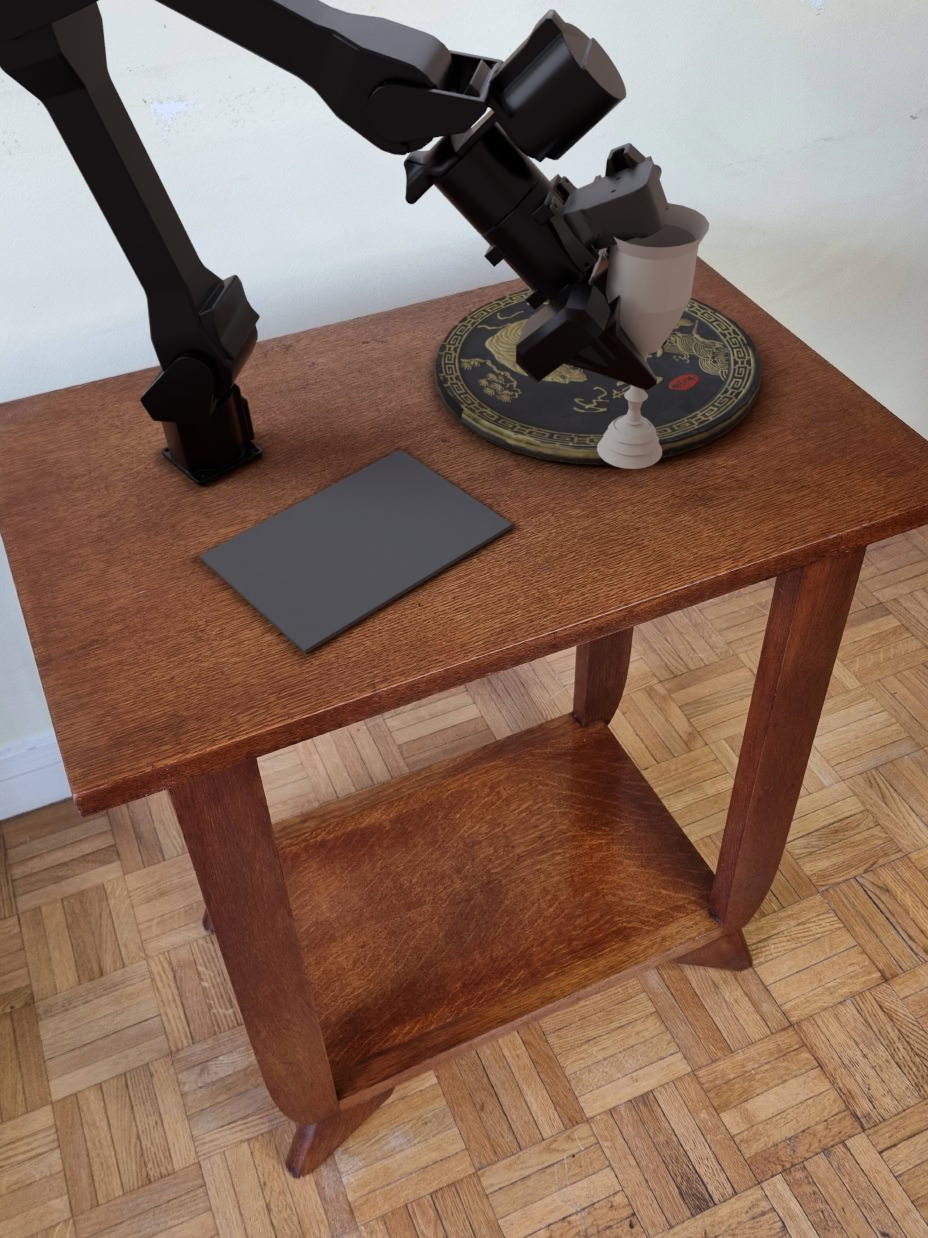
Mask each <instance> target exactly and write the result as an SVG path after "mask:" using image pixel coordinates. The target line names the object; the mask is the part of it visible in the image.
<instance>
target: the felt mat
mask: <svg viewBox="0 0 928 1238" xmlns="http://www.w3.org/2000/svg"><path fill="white" fill-rule="evenodd" d="M511 529H513V523H511V522H510V521H508V520H507V519H505V518H504V517H502V515H500V514H498V513H496V511H494V510H492V509H491V508H489V507H488V506H486V505H484V504H483V503H482V502H480V501H479V500H477V499H476V498H474V497H473V496H471V495H470V494H469V493H466V492H465V491H464V490H462V489H461V488H459V487H458V486H456V484H453V483H452V482H451V481H449V480H448V479H446V478H444V477H443V476H441V475H440V474H438V473H437V472H435V471H434V470H432V469H431V468H430V467H428V466H426V465H425V464H424V463H422V462H420V461H419V460H417V459H416V458H415V457H413V456H412V455H410V454H408V453H407V452H405V451H404V450H402V449H401V448H399V449H397V450H395V451H394V452H392V453H390V454H387V455H386V456H384V457H382V458H380V459H378V460H377V461H375V462H373V463H371V464H370V465H368V466H366V467H364V468H362V469H360V470H358V471H356V472H354V473H352V474H351V475H348V476H347V477H345V478H343V479H341V480H340V481H338V482H336V483H334V484H332V485H330V486H328V487H326V488H325V489H322V490H321V491H319V492H316V493H315V494H313V495H311V496H309V497H307V498H305V499H303V500H302V501H300V502H298V503H296V504H294V505H292V506H291V507H288V508H286V509H285V510H283V511H281V512H279V513H277V514H276V515H273V516H272V517H270V518H268V519H265V520H263V521H262V522H261V523H259V524H256V525H255V526H253V527H251V528H249V529H247V530H245V531H244V532H242V533H240V534H238V535H236V536H234V537H231V538H230V539H229V540H227V541H224V542H223V543H221V544H219V545H217V546H216V547H213V548H211V549H210V550H207V551H206V552H204V553H202V554H200V555H199V557H200V560H201V561H202V562H203V563H204V564H205V565H207V566H208V567H209V568H210V569H211V570H212V571H213V572H214V573H216V575H218V576H219V577H220V578H221V579H222V580H223V581H224V582H225V583H227V585H229V586H230V587H231V588H232V589H233V590H234V591H235V592H237V593H238V594H239V596H241V597H242V598H243V599H244V600H246V601H247V602H248V603H249V604H250V605H251V606H252V607H253V608H254V609H255V610H256V611H257V612H259V613H260V614H261V615H262V616H263V617H264V618H265V619H266V620H267V621H269V622H270V623H271V624H272V625H273V626H274V627H275V628H276V629H277V630H279V631H280V632H281V633H282V634H283V635H284V636H285V637H287V638H288V639H289V640H290V641H291V642H292V643H293V644H294V645H295V646H296V647H298V648H299V649H300V650H301V651H302V652H303V653H304V654H309V653H310V652H312V651H313V650H315V649H317V648H318V647H320V646H321V645H323V644H325V643H326V642H328V641H330V640H331V639H333V638H334V637H336V636H338V635H339V634H342V632H344V631H346V630H347V629H349V628H351V627H352V626H354V625H356V624H358V623H359V622H360V621H362V620H364V619H366V618H367V617H369V616H370V615H372V614H374V613H376V612H377V611H379V610H380V609H382V608H383V607H385V606H387V605H389V604H390V603H392V602H393V601H395V600H397V599H398V598H400V597H401V596H403V595H405V594H406V593H408V592H410V591H411V590H413V589H414V588H416V587H418V586H420V585H421V584H423V583H424V582H426V581H428V580H429V579H431V578H432V577H434V576H436V575H437V574H439V573H441V572H442V571H444V570H445V569H448V568H449V567H451V566H452V565H454V564H455V563H458V562H459V561H461V560H462V559H463V558H465V557H467V556H469V555H470V554H472V553H473V552H476V551H477V550H479V549H481V547H483V546H485V545H486V544H488V543H490V542H491V541H493V540H495V539H496V538H498V537H499V536H501V535H503V534H505V533H506V532H508V531H510V530H511Z"/></svg>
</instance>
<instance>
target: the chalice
mask: <svg viewBox="0 0 928 1238" xmlns="http://www.w3.org/2000/svg"><path fill="white" fill-rule="evenodd" d="M668 205H669V207H668V210H666V212H665V215H664V225H663V227H662V228H661V229H660V230H659V231H658V232H657V233H655V234H653V235H651V236H649V237H646V238H643V239H640V238H634V239H631V240H628V241H625V242H624V241H621V240H619V239H616V238H615V237H614V238H615V240H616V242H617V244H616V245H613V246H610V252H609V263H608V274H607V285H606V296H607V300H608V303H610V302H611V301H612V300H613V299H615V298H616V297H617V296H619V295H620V296H621V308H620V325H621V326H622V328H623V329H624V331H625V332H626V333H627V335H628V336H629V338H630V339H631V341H632V342H633V343H634V345H635V346H636V348H637V349H638V350H639V352H640V353H641V355H642V356H643V358H644V359H645V360H646V359H647V356H648V354H650V353H653V352H656V351H658V350H659V349H660V348H661V346H662V345H663V343H664V342H665V341H666V339H667V338H668V336H669V335H670V333H671V332H672V330H673V329H674V327H675V326H676V324H677V323H678V322H679V320H680V318H681V316H682V314H683V312H684V310H685V308H686V306H687V304H688V302H689V300H690V298H692V292H693V287H694V286H693V285H694V281H695V272H696V266H697V259H698V252H699V245H700V244H701V243H702V241H703V239H704V238H705V236H706V235H707V234H708V232H709V230H710V222H709V221H708V219H707V217H706V216H705V215H704V214H702V213H700V212H699V211H697V210H696V209H693V208H691V207H688V206H685V205H682V204H677V203H671V202H668ZM624 396H625V398H626V399H627V400H628V405H629V410H628V412H627V414H626V415H623V416H620V417H618V418H616V419H615V420H614V421H613V422H611V424H610V425H609V426H608V429H607V431H606V432H605V433H604V435H603V438H602V439H601V440H600V442H599V443H598V446H597V451H598V454H599V456H600V457H601V458H602V459H603V460H604V461H606V462H607V463H609V464H611V465H610V466H613V467H617V468H621V469H629V470H637V469H638V470H639V469H645V468H648V467H651V466H654V464H656V463H657V462H659V461H660V458H661V456H662V448H661V446H660V444H659V439H658V437H657V435H656V429H655V427H654V426H653V425H652V423H651V422H650V421H649V420H647V419H646V418H644V417H643V416H642V415H641V412H640V408H641V406H642V403H643V401H645V400H646V399H647V398H648V395H647V393H646V392H645V391H644V390H643V389H640V388H637V387H635V386H632V385H631V387H630V389H629V390H628V391H627V392H626V393H625V394H624ZM661 459H662V458H661Z"/></svg>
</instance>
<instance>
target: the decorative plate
mask: <svg viewBox="0 0 928 1238" xmlns="http://www.w3.org/2000/svg"><path fill="white" fill-rule="evenodd" d="M529 289H530V288H527V289H523V290H519V291H517V292H513V293H509V294H506V295H503V296H501V297H498V298H496V299H494V300H492V301H489V302H487V303H484V304H483V305H481V306H479V307H477V308H476V309H474V310H472V311H471V312H470V313H468V314H466V315H465V316H464V317H462V318H461V319H459V321H458V322H457V323H456V324H455V325H454V326H453V327H452V328H450V329H449V331H448V333H447V334H446V336H445V338H444V339H443V341H442V342H441V344H440V346H439V348H438V353H437V357H436V362H435V366H434V377H435V382H436V390H437V392H438V394H439V397H440V399H441V400H442V402H443V404H444V406H445V409H446V410H448V412H449V413H450V414H451V415H452V416H453V417H454V418H455V419H456V420H457V421H458V422H459V424H461V425H462V426H463V427H465V428H466V429H467V430H470V431H471V432H472V433H474V434H475V435H477V436H478V437H479V438H481V439H483V440H486V441H487V442H490V443H492V444H494V445H497V446H499V447H501V448H503V449H506V450H508V451H511V452H514V453H518V454H522V455H525V456H529V457H533V458H536V459H541V460H547V461H553V462H560V463H567V464H574V465H602V466H603V465H605V466H606V465H608V466H612V465H611V464H609V463H607V462H606V461H604V460H603V459H602V458H601V457H600V456H599V454H598V451H597V446H598V443H599V442H600V440H601V439H602V438H603V435H604V433H605V432H606V431H607V429H608V426H609V425H610V424H611V422H613V421H614V420H615V419H616V418H618V417H620V416H623V415H626V414H627V412H628V410H629V405H628V400H627V399H626V398H625V396H624V394H625V393H626V392H627V391H628V390H629V389H630V387H631V385H629V384H626V383H623V382H621V381H618V380H615V379H612V378H609V377H607V376H604V375H601V374H598V373H595V372H592V371H588V370H585V369H581V368H577V367H573V366H570V365H566V364H563V365H561V366H560V367H559V368H557V369H556V370H554V371H553V372H552V373H550V374H549V375H548V376H546V377H545V378H544V379H542V380H541V381H540V382H534V381H533V380H532V379H531V378H530V377H529V376H528V375H527V374H526V373H525V372H524V371H523V370H522V369H521V368H520V367H519V366H518V365H517V364H516V345H517V342H518V340H519V337H520V335H521V333H522V330H523V328H524V326H525V323H526V321H527V320H528V319H529V318H530V317H532V316H533V315H534V314H535V313H537V312H538V311H539V310H540V309H542V308H543V307H544V306H545V305H547V304H548V303H549V302H550V300H549V299H548V300H547V301H545V302H544V303H543V304H542V305H540V306H539V307H538V308H537V309H535V310H534V309H533V308H532V307H531V306H530V305H529V304H528V302H527V301H526V300H525V299H526V296H527V294H528V292H529ZM761 361H762V360H761V354H760V352H759V351H758V349H757V347H756V345H755V343H754V342H753V339H752V338H751V336H750V335H749V334H748V333H747V332H746V331H745V330H744V329H743V328H742V327H741V326H740V325H739V324H738V323H737V322H736V321H734V320H733V319H732V318H730V317H729V316H727V315H726V314H724V313H723V312H722V311H720V310H718V309H717V308H715V307H712V306H710V305H708V304H706V303H704V302H702V301H700V300H697V299H695V298H694V297H691V298H690V300H689V302H688V304H687V306H686V308H685V310H684V312H683V314H682V316H681V318H680V320H679V322H678V323H677V324H676V326H675V327H674V329H673V330H672V332H671V333H670V335H669V336H668V338H667V342H666V344H665V345H664V346H662V347H661V348H660V349H659V350H658V351H656V352H653V353H650V354H648V356H647V359H646V362H647V363H648V365H649V366H650V368H651V370H652V371H653V373H654V374H655V376H656V378H657V384H656V385H654V386H653V387H651V388H650V389H648V390H644V391H645V392H646V393H647V395H648V398H647V399H646V400H645V401H643V403H642V406H641V408H640V412H641V415H642V416H643V417H644V418H646V419H647V420H649V421H650V422H651V423H652V425H653V426H654V427H655V429H656V435H657V437H658V439H659V444H660V446H661V448H662V456H661V458H660V459H665V458H670V457H675V456H679V455H681V454H684V453H686V452H690V451H693V450H695V449H698V448H700V447H703V446H706V445H708V444H709V443H711V442H713V441H715V440H716V439H718V438H720V437H722V436H724V435H725V434H727V433H729V432H730V431H731V430H732V429H734V428H735V426H737V425H738V424H739V423H741V421H742V420H743V419H745V417H747V416H748V414H749V413H750V411H751V409H752V408H753V406H754V405H755V403H756V401H757V400H758V398H759V393H760V388H761V384H762V380H763V367H762V362H761ZM660 459H659V460H660Z"/></svg>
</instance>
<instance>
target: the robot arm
mask: <svg viewBox="0 0 928 1238" xmlns="http://www.w3.org/2000/svg"><path fill="white" fill-rule="evenodd" d="M99 1H100V0H0V69H1V71H2V72H4V74H6V75H7V76H8V77H10V78H11V79H12V80H13V81H15V82H16V83H17V84H18V85H20V86H21V87H22V88H24V89H25V90H26V91H27V92H28V93H30V94H31V95H32V96H33V97H35V99H37V100H38V101H39V102H40V103H41V104H42V106H43V107H44V108H45V109H46V111H47V114H48V115H49V117H50V119H51V120H52V122H53V124H54V126H55V128H56V130H57V131H58V134H59V136H60V137H61V139H62V141H63V143H64V145H65V146H66V148H67V150H68V152H69V154H70V156H71V159H73V161H74V163H75V165H76V167H77V169H78V170H79V173H80V175H81V176H82V178H83V180H84V182H85V184H86V185H87V187H88V189H89V191H90V193H91V195H92V196H93V199H94V201H95V202H96V204H97V206H98V208H99V210H100V211H101V213H102V215H103V217H104V220H105V221H106V222H107V224H108V226H109V228H110V230H111V232H112V235H114V238H115V240H116V241H117V243H118V245H119V247H120V249H121V250H122V252H123V254H124V256H125V258H126V261H128V263H129V265H130V267H131V269H132V271H133V273H134V275H135V276H136V279H137V281H138V282H139V284H140V286H141V288H142V289H143V292H144V294H145V295H144V296H145V297H146V305H147V314H148V315H147V316H148V317H147V318H148V325H149V335H150V341H151V344H152V346H153V349H154V352H155V355H156V358H157V360H158V363H159V366H160V370H159V371H158V372H157V374H156V375H155V377H154V378H153V380H152V381H151V383H150V384H149V386H148V387H147V388H146V390H145V391H144V392H143V394H142V395H141V397H140V399H139V400H140V404H141V405H142V407H143V408H144V409H145V411H146V412H147V414H148V415H149V417H150V418H151V420H152V421H154V422H160V423H161V426H162V430H163V433H164V438H165V442H166V445H167V446H165V447H163V448H162V449H161V454H162V457H163V458H165V459H166V461H168V462H169V463H170V464H172V466H174V467H175V468H176V469H178V470H179V471H180V472H181V473H182V474H184V475H185V476H186V477H187V478H188V479H189V480H191V481H192V482H193V483H195V484H196V485H197V486H206V485H207V484H209V483H211V482H213V481H215V480H217V479H219V478H221V477H223V476H225V475H227V474H229V473H231V472H233V471H235V470H237V469H240V468H241V467H243V466H245V465H248V464H249V463H251V462H254V461H255V460H257V459H259V458H261V457H262V456H263V450H262V448H261V447H260V446H258V444H256V443H254V442H253V441H254V440H255V437H256V435H255V429H254V425H253V420H252V416H251V410H250V406H249V400H248V398H246V397H245V396H244V395H242V392H241V387H240V385H238V384H237V383H236V380H237V379H238V377H239V375H240V374H241V373H242V371H243V368H244V367H245V366H246V364H247V362H248V360H249V359H250V357H251V355H252V354H253V352H254V351H255V347H256V345H257V342H258V339H259V331H258V328H257V325H256V324H257V323H258V322H259V320H260V318H261V315H260V314H259V313H258V312H257V311H256V310H255V309H254V308H253V306H252V305H251V303H250V302H249V300H248V298H247V295H246V292H245V288H244V285H243V281H242V280H241V279H240V277H239V276H238V275H237V274H233V275H230V276H228V277H226V278H225V279H223V278H221V277H220V276H218V275H217V274H215V273H214V272H213V271H211V269H209V268H208V267H206V266H205V264H204V263H203V261H201V259H200V256H199V255H198V252H197V250H196V248H195V246H194V244H193V243H192V240H191V238H190V236H189V234H188V232H187V230H186V228H185V225H184V224H183V222H182V220H181V218H180V216H179V214H178V212H177V210H176V208H175V205H174V204H173V202H172V200H171V198H170V195H169V194H168V192H167V190H166V187H165V185H164V184H163V181H162V179H161V177H160V175H159V173H158V171H157V169H156V167H155V165H154V162H153V161H152V159H151V156H150V155H149V153H148V151H147V148H146V147H145V144H144V142H143V140H142V139H141V137H140V135H139V133H138V130H137V129H136V127H135V124H134V123H133V120H132V118H131V116H130V114H129V113H128V110H127V108H126V106H125V104H124V102H123V100H122V98H121V96H120V94H119V92H118V90H117V87H116V86H115V84H114V82H113V80H112V78H111V75H110V72H109V68H108V60H107V51H106V42H105V41H106V40H105V31H104V21H103V17H102V14H101V11H100V8H99V5H98V4H99V3H98V2H99ZM154 1H155V2H157V3H159V4H160V5H162V6H164V7H166V8H168V9H170V10H171V11H173V12H175V13H177V14H179V15H181V16H183V17H184V18H186V19H189V20H191V21H192V22H194V23H196V24H198V25H200V26H202V27H204V28H205V29H207V30H208V31H211V32H212V33H214V34H216V35H218V36H220V37H222V38H224V39H225V40H227V41H229V42H231V43H233V44H235V45H237V46H239V47H241V48H243V49H244V50H246V51H247V52H250V53H252V54H253V55H255V56H257V57H259V58H261V59H263V60H265V61H267V62H268V63H270V64H272V65H274V66H275V67H277V68H279V69H281V70H283V71H285V72H287V73H289V74H291V75H293V76H294V77H296V78H297V79H299V80H300V81H302V82H303V83H304V84H306V85H307V86H308V87H310V88H311V89H312V90H314V91H315V93H316V94H317V95H318V97H320V98H321V100H322V101H323V103H324V104H325V105H326V106H327V107H328V109H329V110H330V111H331V112H332V113H333V114H334V116H335V117H336V118H337V119H339V120H340V121H341V122H342V123H344V124H345V125H346V126H348V127H349V128H350V129H351V130H353V131H354V132H355V133H357V134H358V135H360V136H361V137H362V138H363V139H365V140H367V142H369V143H370V144H371V145H373V146H374V147H376V148H377V149H379V150H380V151H382V152H385V153H388V154H391V155H393V156H394V155H395V156H406V155H407V154H408V155H407V156H406V158H405V159H404V161H403V167H404V172H405V196H404V198H405V201H406V203H407V204H409V205H415V203H417V202H418V201H419V200H420V199H422V197H423V196H424V195H425V194H426V193H427V192H428V191H429V190H430V189H431V188H432V187H433V186H434V187H435V188H436V190H438V191H439V192H440V194H441V195H442V196H443V197H444V198H445V199H446V200H447V201H448V202H449V203H450V204H451V205H452V206H453V207H454V208H455V210H457V212H458V213H459V214H460V215H461V216H462V217H463V218H464V219H465V220H466V222H467V223H468V224H470V225H471V227H472V228H473V229H474V230H475V231H476V232H477V233H478V234H479V235H480V237H482V239H484V241H485V242H486V243H487V244H488V245H489V246H488V247H487V250H486V252H485V254H484V256H483V257H484V258H485V259H486V260H487V261H488V262H489V263H490V264H491V265H492V266H493V267H494V268H495V267H496V266H497V265H499V264H500V263H501V262H502V261H504V263H506V264H507V265H508V266H509V267H510V268H511V269H512V271H514V273H515V274H516V275H517V276H518V277H519V278H520V279H521V280H522V281H523V283H525V284H526V285H527V287H528V289H529V292H528V294H527V296H526V299H525V300H526V301H527V302H528V304H529V305H530V306H531V307H532V308H533V309H534V310H535V309H537V308H538V307H539V306H540V305H542V304H543V303H544V302H545V301H547V300H548V299H549V300H550V302H549V303H548V304H547V305H545V306H544V307H543V308H542V309H540V310H539V311H538V312H537V313H535V314H534V315H533V316H532V317H530V318H529V319H528V320H527V321H526V323H525V326H524V328H523V330H522V333H521V335H520V337H519V340H518V342H517V345H516V364H517V365H518V366H519V367H520V368H521V369H522V370H523V371H524V372H525V373H526V374H527V375H528V376H529V377H530V378H531V379H532V380H533V381H534V382H540V381H541V380H542V379H544V378H545V377H546V376H548V375H549V374H550V373H552V372H553V371H554V370H556V369H557V368H559V367H560V366H561V365H563V364H566V365H570V366H573V367H577V368H581V369H585V370H588V371H592V372H595V373H598V374H601V375H604V376H607V377H609V378H612V379H615V380H618V381H621V382H623V383H626V384H629V385H632V386H635V387H637V388H640V389H643V390H648V389H650V388H651V387H653V386H654V385H656V384H657V378H656V376H655V374H654V373H653V371H652V370H651V368H650V366H649V365H648V363H647V362H646V360H645V359H644V358H643V356H642V355H641V353H640V352H639V350H638V349H637V348H636V346H635V345H634V343H633V342H632V341H631V339H630V338H629V336H628V335H627V333H626V332H625V331H624V329H623V328H622V326H621V325H620V308H621V296H620V295H619V296H617V297H616V298H615V299H613V300H612V301H611V302H610V303H608V300H607V296H606V285H607V274H608V263H609V252H610V246H613V245H616V244H617V242H616V240H615V238H616V239H619V240H621V241H624V242H625V241H628V240H631V239H634V238H640V239H643V238H646V237H649V236H651V235H653V234H655V233H657V232H658V231H659V230H660V229H661V228H662V227H663V225H664V215H665V212H666V210H668V207H669V205H668V203H669V202H668V199H667V196H666V194H665V190H664V188H663V185H662V183H661V180H660V179H661V176H662V173H663V170H662V167H661V166H660V165H659V164H655V162H654V160H653V157H652V156H651V155H649V156H645V155H644V154H643V153H642V152H641V151H639V150H638V148H637V147H635V146H634V145H633V144H632V142H627V143H624V144H622V145H619V146H617V147H614V148H612V149H611V150H609V153H608V156H607V159H606V162H605V163H606V164H605V173H604V176H602V175H601V174H599V175H596V176H595V177H594V179H593V181H592V182H590V183H588V184H586V185H583V186H581V187H578V188H577V187H576V185H574V183H572V181H571V180H570V179H569V178H568V177H567V176H565V175H563V176H561V175H560V174H559V173H557V174H556V175H555V176H553V178H552V179H550V180H549V178H548V177H547V176H546V175H545V174H544V172H542V170H541V169H540V168H539V167H538V166H537V165H536V163H534V161H533V160H535V161H536V162H538V163H543V161H545V160H546V159H548V160H552V161H558V160H561V158H562V157H563V156H564V155H565V154H567V152H568V151H569V150H571V149H572V148H573V147H574V146H575V145H576V144H578V142H579V141H580V140H582V139H583V138H584V137H585V136H586V135H587V134H588V133H589V132H590V131H591V130H592V129H593V128H595V126H596V125H598V124H599V123H600V122H601V121H602V120H603V119H604V118H605V117H607V115H609V114H610V113H611V112H612V111H613V110H614V109H615V108H616V107H617V106H618V105H619V104H620V103H622V102H623V101H624V100H625V99H626V98H627V89H626V86H625V82H624V80H623V78H622V76H621V74H620V71H619V70H618V68H617V66H616V65H615V63H614V62H613V60H612V59H611V57H610V56H609V54H608V53H607V52H606V51H605V49H604V48H603V47H602V45H601V44H600V43H599V42H598V40H597V39H596V38H594V37H591V38H590V37H589V36H588V35H587V34H586V32H584V31H582V30H581V29H580V28H579V27H578V26H576V25H574V24H573V23H570V22H566V21H565V20H564V19H563V17H562V16H560V14H559V13H558V12H557V11H556V10H555V9H552V8H551V9H548V11H546V12H545V14H543V16H542V17H541V18H540V19H539V20H538V21H537V22H536V23H535V25H534V27H533V28H532V30H531V32H530V34H529V35H528V36H527V38H526V39H525V40H523V41H522V43H521V44H519V46H518V47H517V48H516V49H515V50H514V51H513V52H512V53H511V54H510V55H509V56H508V57H506V59H505V60H503V59H500V58H499V59H498V58H494V57H490V56H489V57H488V56H483V55H478V54H473V53H467V52H463V51H457V50H452V49H449V48H448V47H447V46H446V44H444V42H442V41H441V40H440V39H438V38H437V36H435V35H433V34H432V33H429V32H426V31H423V30H420V29H417V28H414V27H413V26H412V27H411V26H409V25H406V24H403V23H400V22H397V21H394V20H391V19H388V18H386V17H380V16H374V15H366V14H360V13H352V12H348V11H345V10H342V9H339V8H336V7H333V6H330V5H329V4H327V3H326V2H323V1H322V0H154ZM488 109H489V111H487V110H488ZM435 138H440V139H439V140H438V141H437V142H436V143H435V144H433V146H431V148H430V149H429V150H422V149H424V148H425V147H426V146H427V145H429V144H430V143H431V142H433V140H434V139H435ZM532 159H533V160H532ZM614 237H615V238H614ZM666 342H667V339H666V341H665V342H664V343H663V345H662V346H664V345H665V344H666ZM662 346H661V347H662Z"/></svg>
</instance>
